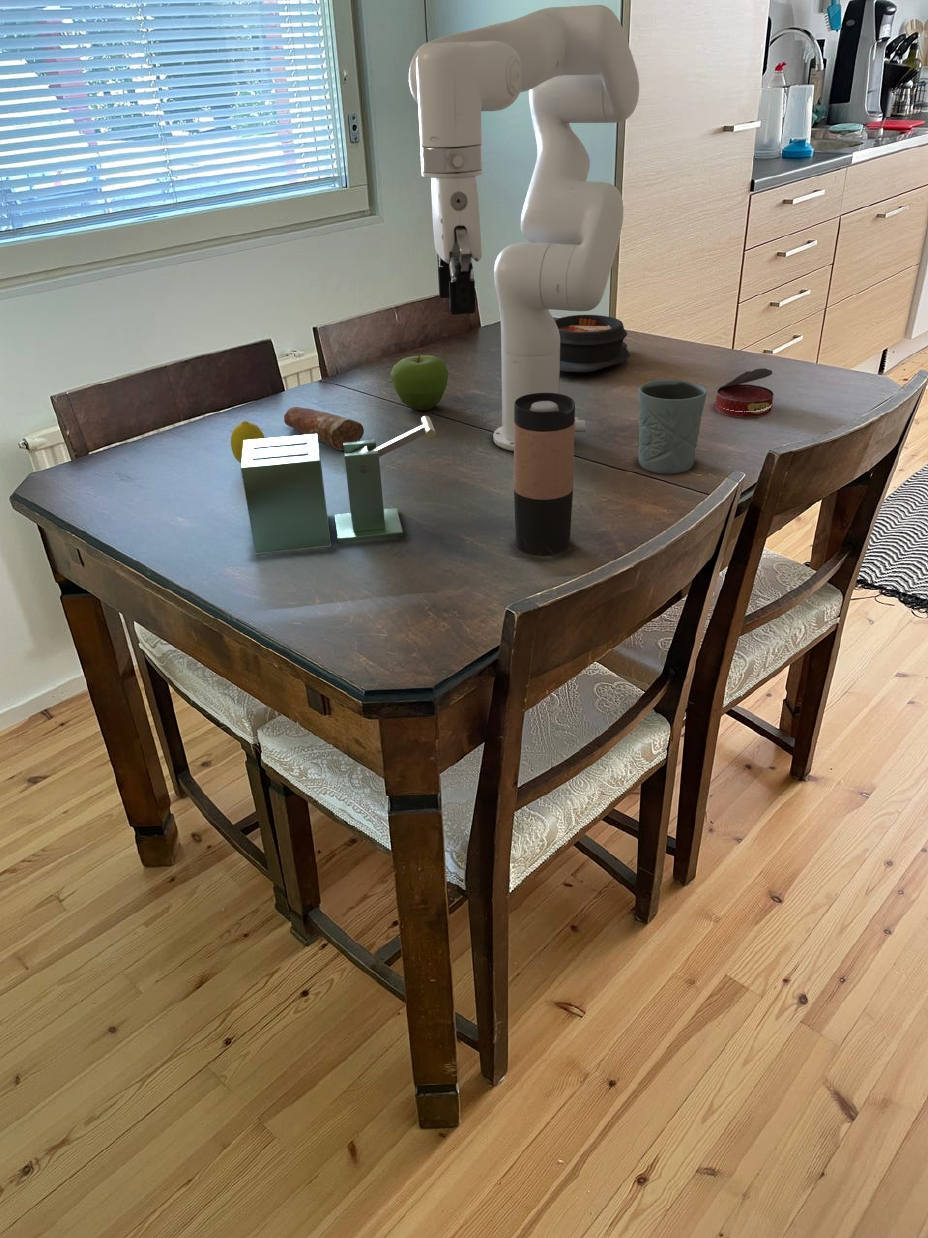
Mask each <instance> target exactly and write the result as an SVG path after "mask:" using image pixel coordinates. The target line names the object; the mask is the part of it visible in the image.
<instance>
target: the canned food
mask: <svg viewBox="0 0 928 1238" xmlns="http://www.w3.org/2000/svg"><path fill="white" fill-rule="evenodd" d="M772 374H773V370H772V369H768V368H766V367H765V368H762V367H760V368H755V369H753V370H751V371H750V370H748V371H745V372H743V373H741V374H740V375H738V376H737V377H735V378H734V379H732V380H731V381H729V382H727V383H725V384H724V385H721V386H719V387H717V388H716V399H715V400H716V401H715V407H714V408H715V411H717V413H719V414H721V415H725V416H728V417H732V418H740V419H755V418H761V417H764V416H767V415H769V414H771V412H772V407H773V400H774V392H773V390H771V389H769V388H767V387H765V386H761V385H755V384H748V383H750V382H753V381H754V382H755V381H757V380H761V379H766V378H767V377H769V376H771V375H772ZM745 383H746V384H745ZM716 403H717V404H716ZM771 404H772V406H771V408H769V409H767V410H765V411H760V412H746V411H756V410H761V409H764V408H766V407H769V406H770V405H771ZM719 406H720V407H719ZM721 407H722V408H721ZM723 408H725V409H723ZM726 409H729V410H726ZM730 410H734V411H730ZM735 411H743V412H735ZM744 411H745V412H744Z"/></svg>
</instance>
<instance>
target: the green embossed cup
mask: <svg viewBox="0 0 928 1238" xmlns="http://www.w3.org/2000/svg"><path fill="white" fill-rule="evenodd" d="M707 395H708V394H707V388H705V387H704V386H703V385H700V384H698V383H695V382H691V381H686V380H675V379H668V380H667V379H666V380H665V379H664V380H655V381H649V382H646V383H644V384H642V385H640V386H639V388H638V409H639V413H638V415H639V416H638V420H639V421H638V427H639V428H638V433H639V434H638V446H639V447H638V463H639V466H640V467H641V468H642V469H644V470H646V471H649V472H652V473H657V474H665V475H666V474H669V475H670V474H680V473H684V472H687V471H688V470H691V468H692V467H693V466H694V462H695V457H696V448H697V447H698V441H699V435H700V427H701V423H702V416H703V412H704V407H705V404H706V399H707Z"/></svg>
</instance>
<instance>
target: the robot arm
mask: <svg viewBox="0 0 928 1238" xmlns="http://www.w3.org/2000/svg"><path fill="white" fill-rule="evenodd" d="M408 84H409V89H410V93H411V95H412V97H413V99H414V101H415V102H416V104H417V106H418V107H417V108H418V126H419V146H420V147H419V148H420V150H419V151H420V162H421V163H420V167H421V178H427V179H430V188H431V189H430V193H431V215H432V217H431V218H432V229H433V230H432V231H433V242H434V249H435V252H436V254H437V255H438V266H437V273H438V294H439V297H440V299H447V298H448V299H449V312H450V314H451V315H453V316H455V315H468V314H469V315H471V314H474V313H475V312H476V280H475V274H474V273H475V272H474V266H473V261H475V262H480V261H481V259H482V258H483V255H482V254H483V253H482V252H483V251H482V237H481V220H480V219H481V217H480V204H479V203H480V202H479V192H478V184H477V176H481V175H483V144H482V143H483V142H482V141H483V140H482V137H483V136H482V112H498V111H502V110H505V109H506V108H509V107H510V106H511V105H513V104H514V103H515V102H516V101H517V99H518V97H520V94H521V93H524V92H528V99H529V100H528V102H529V110H530V117H531V123H532V128H533V133H534V139H535V143H536V144H535V145H536V151H537V152H536V154H537V155H536V161H535V165H534V169H533V172H532V175H531V178H530V182H529V185H528V189H527V193H526V196H525V199H524V202H523V206H522V210H521V215H520V231H521V234H522V236H524V238H525V240H527V241H524V242H523V241H522V242H516V243H512V244H509V245H507V246H506V247H504V248H503V249H501V251H500V252H499V253H498V255H497V257H496V259H495V262H494V267H493V280H494V288H495V292H496V298H497V303H498V309H499V318H500V320H499V321H500V346H501V347H500V351H501V352H500V353H501V357H500V358H501V362H500V363H501V418H502V419H501V426H500V427H498V428H496V429H495V430H494V432H493V436H492V437H493V438H492V439H493V442H494V443H495V445H496V446H498V447H499V448H501V449H504V450H507V451H511V452H514V404H515V401H516V400H517V399H518V398H520V397H522V396H524V395H528V394H534V393H557V394H560V374H561V371H560V334H559V330H558V327H557V325H556V322H555V321H554V320H555V319H554V317H553V315H552V314H551V312H550V310H553V311H555V310H557V311H568V312H588V311H592V310H594V309H595V308H596V307H597V306H599V304H600V303H601V301H602V299H603V297H604V294H605V291H606V287H607V285H608V281H609V277H610V274H611V270H612V267H613V264H614V259H615V255H616V252H617V248H618V245H619V242H620V236H621V233H622V229H623V223H624V212H625V211H624V200H623V197H622V193H621V191H620V190H619V189H618V188H617V187H616V186H615V185H613V184H612V183H609V182H604V181H590V180H589V181H587V180H588V176H589V173H590V167H591V161H590V160H591V159H590V156H589V154H588V152H587V149H586V148H585V146H584V144H583V142H582V141H581V139H580V138H579V136H578V135H577V134H576V133H575V132H574V131H573V129H572V126H571V124H613V123H621V122H624V121H626V120H628V119H629V118H630V117H631V116H632V115H633V114H634V112H635V110H636V108H637V106H638V102H639V96H640V79H639V73H638V69H637V66H636V63H635V60H634V55H633V53H632V49H631V48H630V45H629V41H628V38H627V35H626V32H625V30H624V28H623V26H622V24H621V21H620V19H619V18H618V16H617V15H616V14H615V12H614V11H613V10H612V9H611V8H610V7H608V6H606V5H603V4H592V5H591V4H590V5H589V4H588V5H573V6H551V7H545V8H541V9H538V10H535V11H532V12H530V13H528V14H526V15H523V16H520V17H517V18H515V19H512V20H508V21H504V22H499V23H493V24H490V25H487V26H483V27H478V28H474V29H471V30H466V31H461V32H455V33H453V34H448V35H445V36H444V35H443V36H441V37H438V38H435V39H432V40H430V41H427V42H425V43H423V44H421V45H420V47H418V49H417V50H416V52H415V53H414V55H413V57H412V58H411V61H410V64H409V70H408ZM586 422H587V421H586V420H579V417H578V416H575V428H574V433H586V424H587V423H586Z"/></svg>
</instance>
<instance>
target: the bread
mask: <svg viewBox="0 0 928 1238" xmlns="http://www.w3.org/2000/svg"><path fill="white" fill-rule="evenodd" d="M283 417H284V418H283V422H284V424H285V425H286V426H288V427H290V428H292V429H294V430H296V431H298V432H299V433H301V434H302V435H310V434H318V442H321V443H323V444H325V445H327V446H328V447H331V448H333V449H335V450H338V451H344V446H343V443H347V442H358V441H361V440H362V438H363V436H364V433H365V428H364V426H363V425H362V423H360V422H358V421H356V420H354V419H352V418H348V417H345V416H341V415H338V414H335V413H334V414H333V413H329V412H326V411H320V410H316V409H313V408H306V407H300V406H291V407H290V408H288V409H287V410H286V412H285V414H284V416H283Z"/></svg>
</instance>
